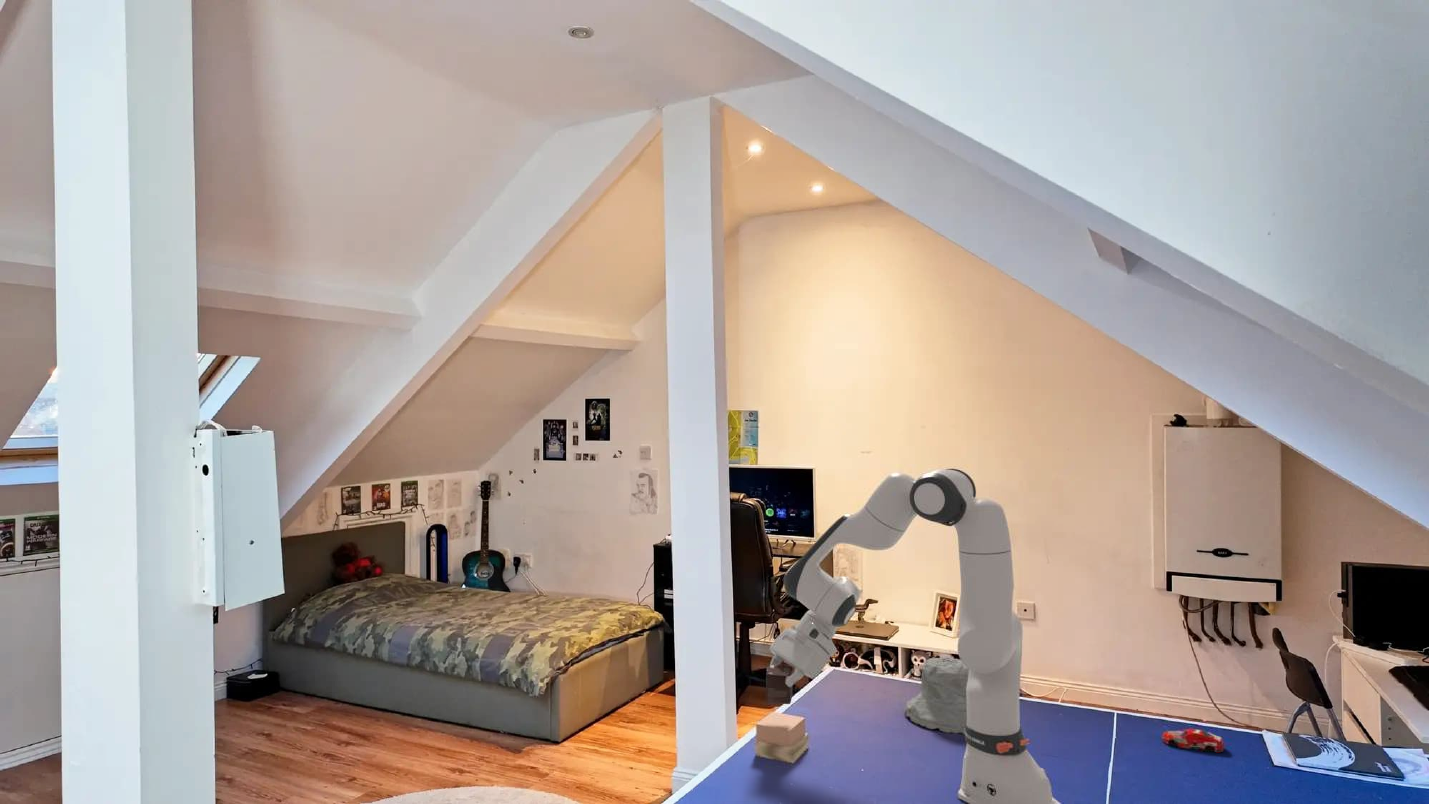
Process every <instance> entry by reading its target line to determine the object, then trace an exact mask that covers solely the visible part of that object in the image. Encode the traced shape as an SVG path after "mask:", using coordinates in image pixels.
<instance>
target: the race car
mask: <svg viewBox="0 0 1429 804" xmlns="http://www.w3.org/2000/svg"><path fill="white" fill-rule="evenodd" d="M1161 740H1162V742H1163V743H1164V744H1166V745H1168V746H1170V747H1174V748H1177V747H1179V748H1184V749H1190V750H1196V751H1204V752H1206V753H1211V754H1214V753H1221V752H1222V753H1223V752H1224V751H1225V744H1224V741H1223V739H1222V737H1221V736H1218V735H1216V734H1213V733H1212V732H1209V731H1205V730H1202V729H1195V728H1187V729H1183V730H1167V731H1165V732H1163V733H1162V735H1161Z"/></svg>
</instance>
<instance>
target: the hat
mask: <svg viewBox="0 0 1429 804" xmlns="http://www.w3.org/2000/svg"><path fill="white" fill-rule="evenodd" d="M968 675H969V668H968V667H966V666H965V665H964V663H963V662H962V661H961V659H960V658H950V657H946V656H942V657H931V658H928V659H926V660H925V661H924V664H923V666H922V669H921V679H920V680H921V684H920V691H919V693H918V694H917V696H915V697H912V698H911V699H910V700H908V701H907V702H906V703H905V706H904V710H903V712H904V714H905V717H908V718H909V719H910V721H911V722H913V723H914V724H916V725H918V724H919V726H922V727H925V728H926V729H929V730H934V729H935V730H936V729H939V731H940V732H943V733H946V734H948V733H953V734H959V733H960V734H961V733H962V734H963V735H965V732H964V729H965V723H966V721H967V703H966V686H967V682H968Z"/></svg>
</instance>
